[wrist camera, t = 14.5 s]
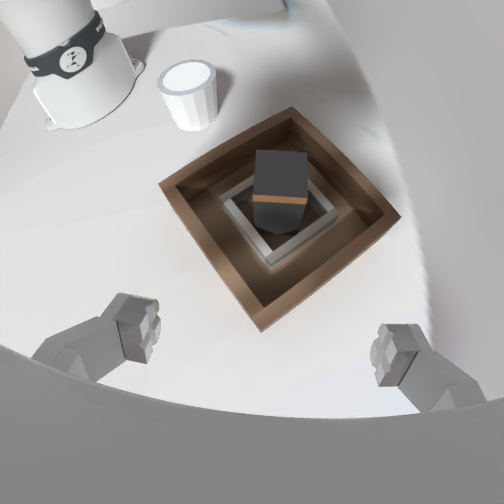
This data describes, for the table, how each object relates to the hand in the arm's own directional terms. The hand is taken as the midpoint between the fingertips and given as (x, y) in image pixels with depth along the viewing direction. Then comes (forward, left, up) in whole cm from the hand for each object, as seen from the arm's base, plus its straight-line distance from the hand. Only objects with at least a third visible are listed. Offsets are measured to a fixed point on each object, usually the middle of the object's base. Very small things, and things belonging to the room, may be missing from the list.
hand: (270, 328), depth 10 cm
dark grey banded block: (-9, +8, -17) cm, 20 cm away
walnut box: (-9, +8, -18) cm, 21 cm away
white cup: (-27, +9, -18) cm, 33 cm away
